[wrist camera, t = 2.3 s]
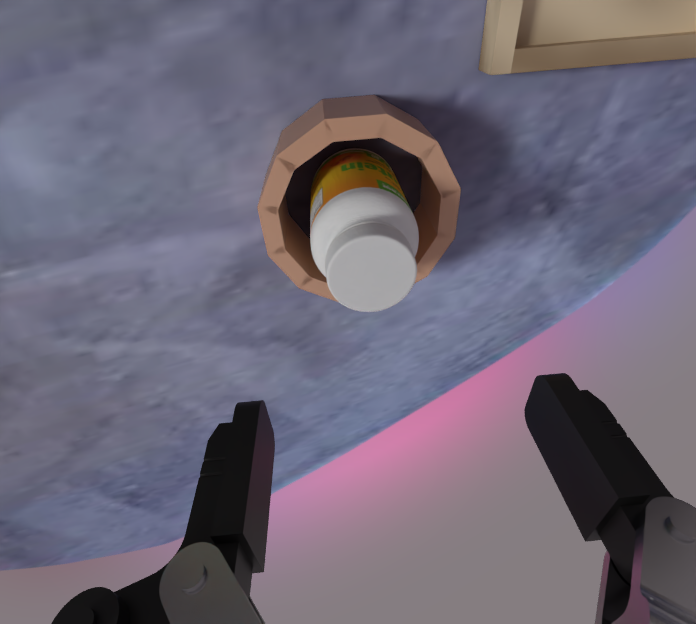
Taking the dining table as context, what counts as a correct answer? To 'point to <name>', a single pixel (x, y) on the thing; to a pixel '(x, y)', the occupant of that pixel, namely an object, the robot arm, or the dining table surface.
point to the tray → (584, 33)
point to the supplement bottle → (362, 231)
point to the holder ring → (343, 125)
